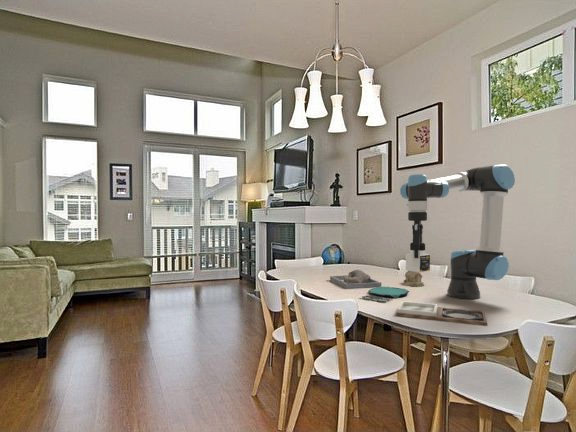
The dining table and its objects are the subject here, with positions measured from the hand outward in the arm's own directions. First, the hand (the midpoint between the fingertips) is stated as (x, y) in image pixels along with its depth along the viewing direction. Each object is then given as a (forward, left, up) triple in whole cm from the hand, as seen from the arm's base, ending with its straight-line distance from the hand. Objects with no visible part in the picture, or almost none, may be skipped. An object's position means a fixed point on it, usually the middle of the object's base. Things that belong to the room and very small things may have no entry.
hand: (417, 264), depth 159 cm
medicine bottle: (0, 0, -3) cm, 3 cm away
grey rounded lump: (0, -65, -21) cm, 69 cm away
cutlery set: (-2, -34, -21) cm, 40 cm away
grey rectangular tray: (0, -68, -20) cm, 71 cm away
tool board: (-7, +5, -20) cm, 22 cm away
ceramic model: (-33, -57, -21) cm, 69 cm away
